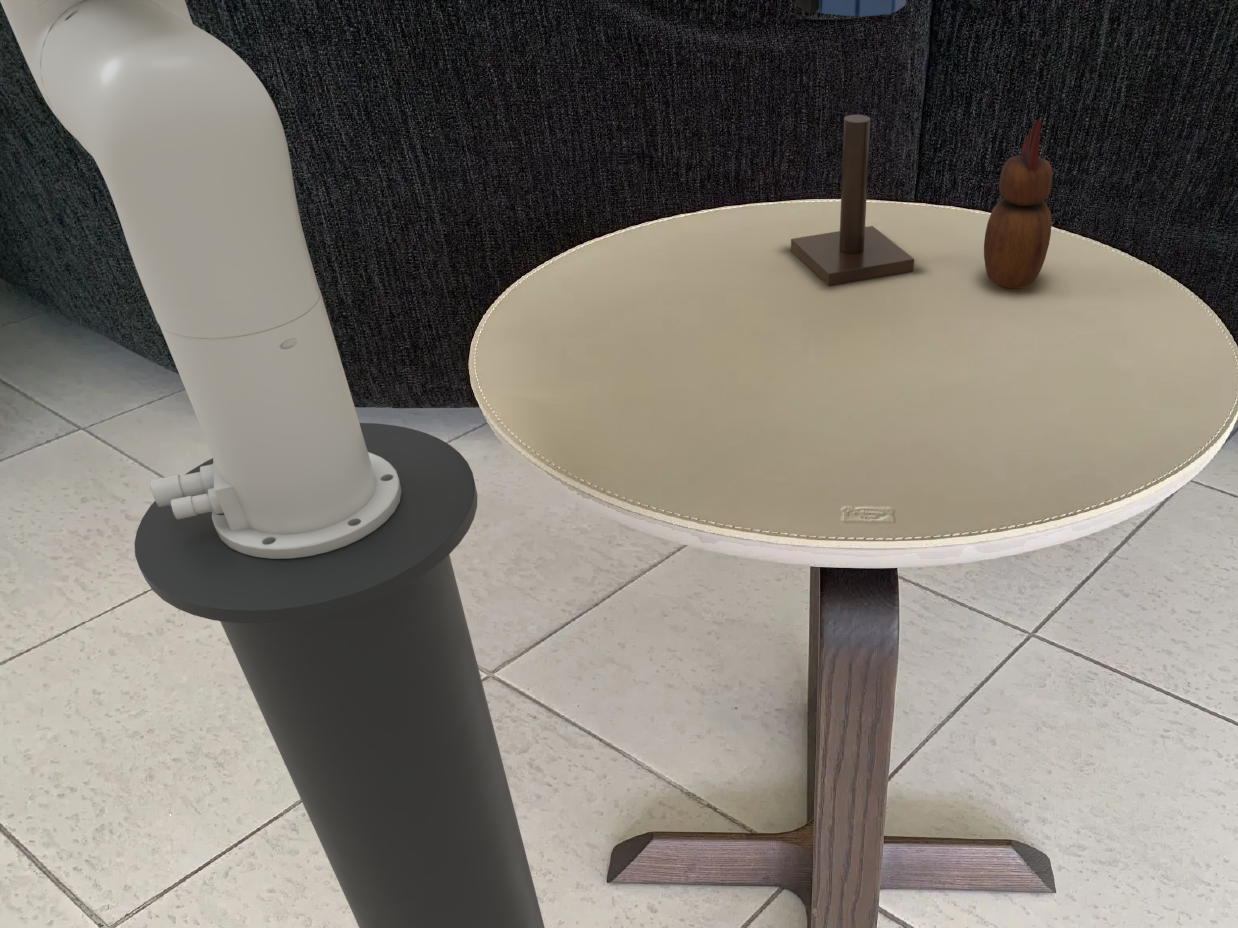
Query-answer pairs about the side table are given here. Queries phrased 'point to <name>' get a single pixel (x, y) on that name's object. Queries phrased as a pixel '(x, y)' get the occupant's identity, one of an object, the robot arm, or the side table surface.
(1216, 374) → the side table surface
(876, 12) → the ring
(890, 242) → the post
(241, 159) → the robot arm
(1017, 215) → the wooden figurine
